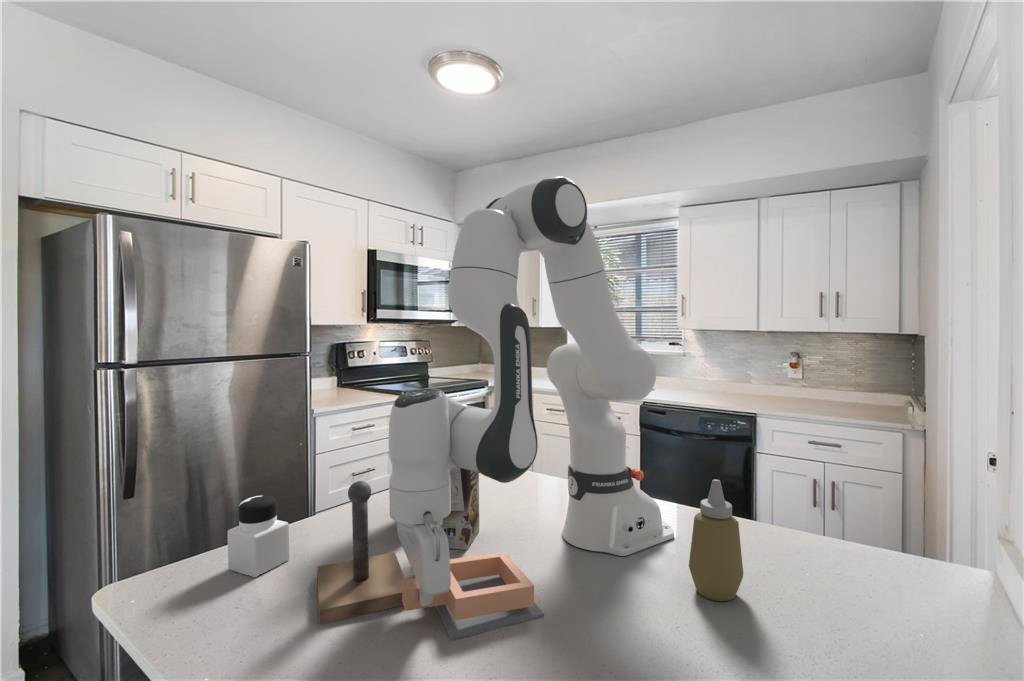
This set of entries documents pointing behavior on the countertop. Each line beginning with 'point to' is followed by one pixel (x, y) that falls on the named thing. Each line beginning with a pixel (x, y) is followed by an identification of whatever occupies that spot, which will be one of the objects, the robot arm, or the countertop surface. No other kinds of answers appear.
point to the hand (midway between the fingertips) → (421, 594)
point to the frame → (481, 600)
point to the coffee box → (462, 509)
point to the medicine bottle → (258, 538)
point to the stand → (359, 572)
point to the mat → (485, 621)
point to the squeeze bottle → (716, 548)
